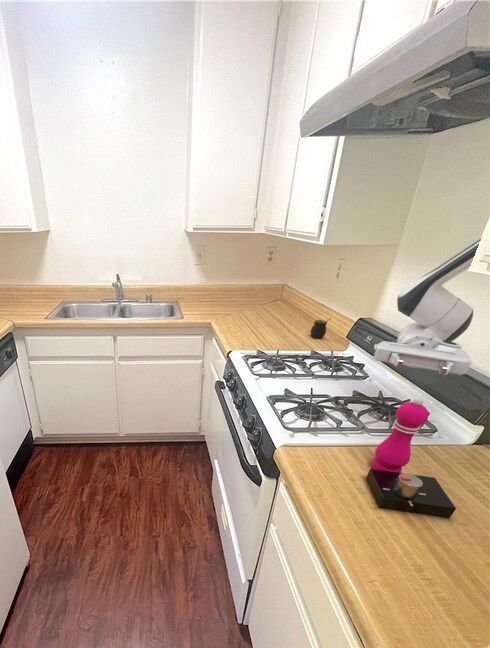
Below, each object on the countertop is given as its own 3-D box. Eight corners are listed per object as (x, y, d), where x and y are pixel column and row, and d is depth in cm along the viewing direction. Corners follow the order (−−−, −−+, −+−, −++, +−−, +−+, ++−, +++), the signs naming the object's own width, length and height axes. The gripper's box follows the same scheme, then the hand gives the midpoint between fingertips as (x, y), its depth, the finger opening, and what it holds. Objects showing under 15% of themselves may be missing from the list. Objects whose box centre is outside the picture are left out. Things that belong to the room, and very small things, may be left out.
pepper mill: (384, 458, 90) (417, 389, 79) (408, 475, 85) (447, 403, 73) (362, 463, 88) (393, 392, 77) (385, 481, 83) (422, 408, 71)
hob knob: (411, 486, 76) (418, 473, 74) (419, 500, 73) (427, 487, 71) (389, 483, 77) (396, 470, 75) (396, 497, 74) (404, 483, 71)
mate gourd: (309, 334, 178) (314, 314, 172) (324, 336, 176) (330, 316, 170) (309, 338, 172) (314, 318, 167) (325, 340, 170) (331, 319, 165)
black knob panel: (428, 487, 81) (435, 476, 79) (452, 523, 72) (460, 512, 70) (365, 478, 83) (370, 468, 81) (380, 512, 74) (386, 501, 72)
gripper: (378, 332, 95) (377, 347, 85) (468, 345, 87) (480, 363, 77) (370, 354, 99) (369, 371, 88) (456, 368, 91) (466, 388, 81)
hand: (421, 367), depth 83 cm, fingers open, 8 cm apart
